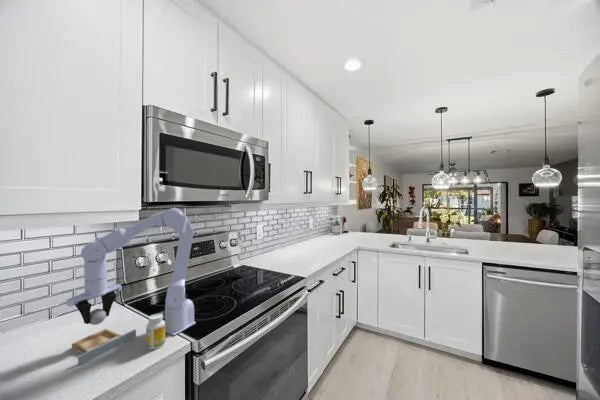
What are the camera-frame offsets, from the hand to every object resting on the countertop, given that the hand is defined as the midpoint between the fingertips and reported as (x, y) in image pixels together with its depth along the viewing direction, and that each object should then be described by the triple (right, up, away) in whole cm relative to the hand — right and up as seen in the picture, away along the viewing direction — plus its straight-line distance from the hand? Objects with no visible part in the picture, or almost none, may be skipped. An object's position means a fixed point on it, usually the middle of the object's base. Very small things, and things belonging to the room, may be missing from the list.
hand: (96, 319), depth 83 cm
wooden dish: (0, -8, 0) cm, 8 cm away
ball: (0, -2, 0) cm, 2 cm away
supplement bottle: (+20, -9, 0) cm, 21 cm away
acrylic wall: (+6, -8, -3) cm, 11 cm away
